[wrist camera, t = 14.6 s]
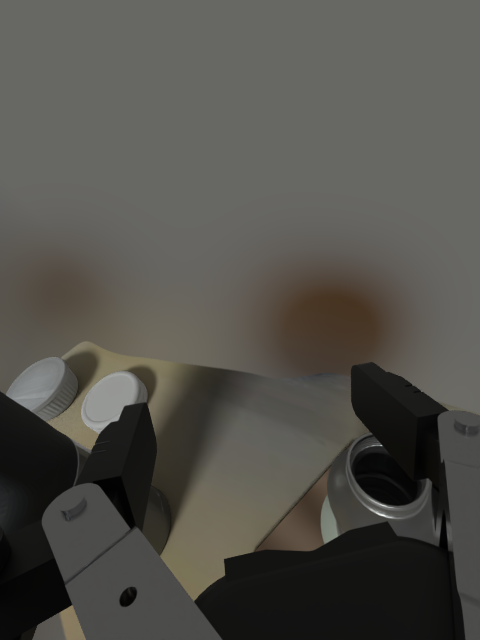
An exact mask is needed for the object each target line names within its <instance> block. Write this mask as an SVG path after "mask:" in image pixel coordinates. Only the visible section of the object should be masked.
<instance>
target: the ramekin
mask: <svg viewBox="0 0 480 640" xmlns="http://www.w3.org/2000/svg"><path fill="white" fill-rule="evenodd" d="M77 391H78V380H77V377H76V376H75V375H74V373H73V372H72V371H71V370H70V368H69V367H68V365H67V363H66V362H65V361H64V360H63V359H61V358H59V357H50V358H46V359H43V360H40V361H38V362H36V363H34V364H33V365H31V366H30V367H29V368H27V369H26V370H25V371H24V372H23V373H21V374H20V375H19V377H18V378H17V379H16V380H15V381H14V382H13V384H12V385H11V387H10V388H9V390H8V392H7V394H6V396H8V397H9V398H11V399H12V400H14V401H16V402H17V403H19V404H20V405H22V406H24V407H25V408H27V409H28V410H30V411H31V412H33V413H34V414H36V415H37V416H39V417H40V418H41V419H43V420H44V421H48V420H51V419H53V418H55V417H57V416H58V415H60V414H61V413H62V412H64V411H65V410H66V409H67V408H68V407H69V405H70V404H71V403H72V401H73V400H74V398H75V396H76V394H77Z"/></svg>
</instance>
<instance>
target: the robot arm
mask: <svg viewBox="0 0 480 640" xmlns="http://www.w3.org/2000/svg"><path fill="white" fill-rule="evenodd" d="M351 402H352V406H353V410H354V412H355V414H356V415H357V417H358V418H359V419H360V420H361V421H362V423H363V424H364V425H365V426H366V427H367V428H368V430H369V431H370V432H371V433H372V434H373V435H374V436H375V438H376V439H377V440H378V441H379V442H380V443H381V445H382V446H383V447H384V448H385V449H386V450H387V452H388V453H389V454H390V455H391V456H392V457H393V459H394V460H395V461H396V462H397V463H398V464H399V465H400V467H401V468H402V469H403V470H404V471H405V472H406V474H407V475H408V476H409V477H410V478H411V479H412V481H413V482H414V481H418V480H423V479H427V478H428V479H429V480H430V481H431V482H432V489H431V498H432V524H433V544H431V543H428V542H425V541H422V540H418V539H415V538H410V537H404V536H397V535H396V533H395V532H394V530H393V529H392V527H391V526H390V524H389V523H388V521H386V522H382V523H377V524H373V525H369V526H364V527H360V528H356V529H352V530H348V531H347V532H345V533H343V534H341V535H340V536H338V537H336V538H334V539H333V540H331V541H329V542H328V543H326V544H324V545H322V546H321V547H319V548H317V549H315V550H313V551H292V550H268V549H265V550H261V551H257V552H253V553H248V554H244V555H240V556H235V557H231V558H227V559H224V564H225V576H224V577H222V578H220V579H218V580H217V581H216V582H214V583H213V584H212V585H210V586H209V587H208V588H207V589H206V590H205V591H203V592H202V593H201V594H200V595H199V596H198V598H197V599H196V600H195V601H193V600H192V599H191V597H190V596H189V595H188V593H187V592H186V591H185V589H184V588H183V587H182V585H181V584H180V583H179V581H178V580H177V579H176V577H175V576H174V575H173V573H172V572H171V571H170V569H169V568H168V567H167V566H166V564H165V563H164V562H163V560H162V559H161V558H160V556H159V555H160V554H161V552H162V550H163V548H164V546H165V544H166V541H167V538H168V535H169V529H170V509H169V505H168V502H167V500H166V498H165V497H164V495H163V494H162V493H161V492H160V491H159V490H157V489H156V488H154V487H153V486H151V481H152V476H153V471H154V465H155V460H156V454H157V443H156V437H155V432H154V428H153V424H152V420H151V416H150V412H149V408H148V405H147V403H146V402H143V403H137V404H131V405H126V406H124V408H123V410H122V412H121V415H120V417H119V420H118V421H114V422H110V423H109V424H108V425H107V426H106V427H105V428H104V429H103V430H102V431H101V432H100V434H99V436H98V438H97V440H96V442H95V445H94V446H93V449H92V451H91V450H89V449H88V448H86V447H84V446H82V445H81V444H79V443H77V442H76V441H74V440H72V439H71V438H69V437H67V436H66V435H64V434H62V433H61V432H59V431H57V430H56V429H54V428H53V427H52V426H50V425H49V424H48V423H46V422H45V421H44V420H43V419H41V418H40V417H39V416H37V415H36V414H34V413H33V412H31V411H30V410H28V409H27V408H25V407H24V406H22V405H20V404H19V403H17V402H16V401H14V400H12V399H11V398H9V397H8V396H6V395H5V394H3V393H2V392H0V640H32V638H33V636H34V633H35V630H36V628H37V625H38V624H40V623H42V622H43V621H45V620H47V619H49V618H50V617H52V616H54V615H56V614H57V613H59V612H61V611H63V610H64V609H66V608H68V607H70V606H71V605H73V607H74V610H75V612H76V615H77V617H78V620H79V623H80V625H81V628H82V630H83V633H84V635H85V638H86V640H480V416H479V415H476V414H473V413H470V412H465V411H455V410H454V411H449V410H447V409H446V408H445V407H443V406H442V405H440V404H439V403H438V402H436V401H435V400H433V399H432V398H431V397H429V396H428V395H426V394H425V393H424V392H421V391H420V390H419V389H418V388H417V387H415V386H412V384H411V383H410V382H408V381H407V380H405V379H404V378H403V377H400V376H398V375H395V374H392V373H390V372H385V371H384V370H383V369H381V368H380V367H379V366H377V365H376V364H375V363H373V362H370V363H364V364H359V365H354V366H352V369H351Z"/></svg>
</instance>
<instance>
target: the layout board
mask: <svg viewBox="0 0 480 640" xmlns="http://www.w3.org/2000/svg"><path fill="white" fill-rule="evenodd" d="M350 446H351V445H350ZM350 446H349V447H350ZM349 447H348V448H349ZM348 448H347V449H348ZM330 469H331V467H330V468H329V469H328V470H327V471H326V472H325V473H324V475H323V476H322V477H321V478H320V479H319V480H318V481H317V482H316V484H315V485H314V486H313V487H312V488H311V489H310V490H309V491H308V492H307V494H306V495H305V496H304V497H303V498H302V499H301V500H300V501H299V503H298V504H297V505H296V506H295V507H294V508H293V509H292V510H291V511H290V513H289V514H288V515H287V516H286V517H285V518H284V519H283V520H282V522H281V523H280V524H279V525H278V526H277V527H276V528H275V529H274V530H273V532H272V533H271V534H270V535H269V536H268V537H267V538H266V539H265V541H264V542H263V543H262V544H261V545H260V546H259V547H258V548H257V549H256V551H255V552H257V551H261V550H265V549H268V550H292V551H313V550H315V549H317V548H319V547H321V546H322V545H324V544H326V543H328V542H329V541H331V540H333V539H334V538H336V537H338V534H337V530H336V519H335V517H334V514H333V512H332V510H331V507H330V503H329V499H328V494H327V481H328V474H329V471H330Z"/></svg>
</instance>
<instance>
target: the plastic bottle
mask: <svg viewBox="0 0 480 640" xmlns="http://www.w3.org/2000/svg"><path fill="white" fill-rule="evenodd" d="M431 489H432V482H431V481H430V480H429V479H428V478H427V479H423V480H418V481H414V482H413V481H412V479H411V478H410V477H409V476H408V475H407V474H406V472H405V471H404V470H403V469H402V468H401V467H400V465H399V464H398V463H397V462H396V461H395V460H394V459H393V457H392V456H391V455H390V454H389V453H388V452H387V450H386V449H385V448H384V447H383V446H382V445H381V443H380V442H379V441H378V440H377V439H376V438H375V436H374V435H373V434H372V433H371V432H369V433H366V434H363V435H361V436H360V437H358V438H357V439H356V440H355V441H354V442H353V443H352V445H351V446H350V447H349V448H348V449H346V450H345V451H343V452H342V453H341V454H340V455H339V456H338V457H337V458H336V459H335V461H334V463H333V464H332V466H331V469H330V471H329V474H328V481H327V494H328V499H329V503H330V507H331V510H332V512H333V514H334V517H335V519H336V530H337V534H338V536H340V535H341V534H343V533H345V532H347V531H348V530H352V529H356V528H360V527H364V526H369V525H373V524H377V523H382V522H386V521H388V523H389V524H390V526H391V527H392V529H393V530H394V532H395V533H396V535H397V536H404V537H410V538H415V539H418V540H422V541H425V542H428V543H431V544H433V524H432V498H431Z"/></svg>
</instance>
